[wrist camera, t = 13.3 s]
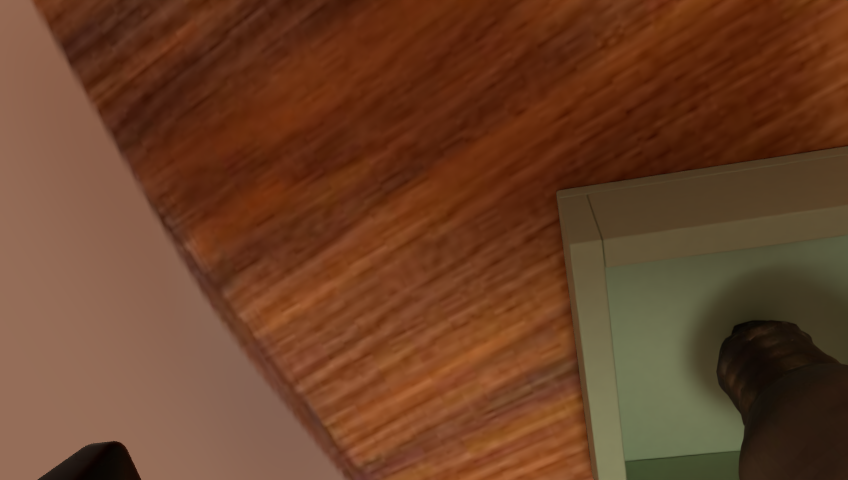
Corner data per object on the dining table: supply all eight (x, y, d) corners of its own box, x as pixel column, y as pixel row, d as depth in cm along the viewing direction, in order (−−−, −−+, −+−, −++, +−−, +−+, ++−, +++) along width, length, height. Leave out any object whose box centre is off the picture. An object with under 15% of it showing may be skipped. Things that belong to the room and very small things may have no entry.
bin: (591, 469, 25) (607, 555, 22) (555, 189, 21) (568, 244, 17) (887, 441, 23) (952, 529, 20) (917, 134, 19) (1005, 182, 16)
